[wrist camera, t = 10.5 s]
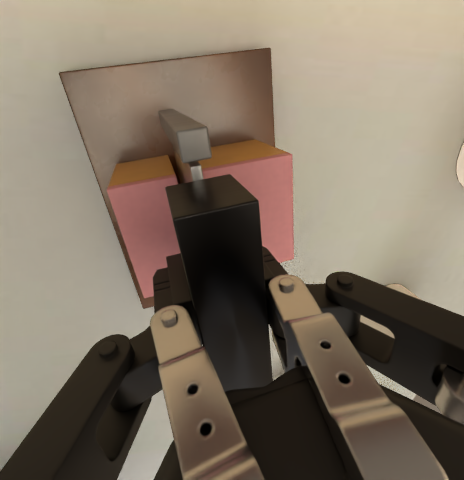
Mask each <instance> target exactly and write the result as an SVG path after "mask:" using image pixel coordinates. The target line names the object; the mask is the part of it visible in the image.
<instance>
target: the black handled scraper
mask: <svg viewBox="0 0 464 480" xmlns="http://www.w3.org/2000/svg"><path fill="white" fill-rule="evenodd" d="M173 150H174V155H175V159H176V164H177V169H178V173H179V178H180V183H181V184H177V185H172V186H167V187H165V190H166V194H167V198H168V203H169V207H170V211H171V215H172V220H173V224H174V228H175V232H176V236H177V240H178V244H179V248H180V253H181V257H182V261H183V265H184V269H185V273H186V277H187V281H188V286H189V290H190V294H191V298H192V302H193V306H194V310H195V314H196V318H197V323H198V327H199V331H200V335H201V339H202V343H203V346H204V347H205V348H206V350H207V352H208V355H209V357H210V359H211V362H212V364H213V366H214V369H215V371H216V373H217V376H218V378H219V380H220V383H221V385H222V387H223V389H224V392H226V391H228V390H233V389H245V388H256V387H264V386H266V385H268V384H270V383H271V382H273V379H272V366H271V353H270V340H269V327H268V314H267V301H266V288H265V275H264V262H263V249H262V236H261V223H260V210H259V201H258V199H257V198H256V197H254V196H253V195H252V194H251V193H250V192H249V191H248V190H247V189H246V188H245V187H244V186H243V185H241V184H240V183H239V182H238V181H237V180H236V179H235V178H234V177H233V176H232V175H231V174H227V175H222V176H217V177H212V178H207V179H204V178H203V173H202V167H201V165H200V163H199V162H198V161H195V162H189V163H182V161H181V160H180V158H179V156H178V154H177V153H176V151H175V149H174V147H173Z"/></svg>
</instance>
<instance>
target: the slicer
mask: <svg viewBox="0 0 464 480" xmlns="http://www.w3.org/2000/svg"><path fill="white" fill-rule="evenodd" d="M59 75H60V78H61V81H62V84H63V86H64V89H65V92H66V95H67V97H68V100H69V103H70V106H71V109H72V111H73V114H74V117H75V120H76V123H77V125H78V128H79V131H80V134H81V137H82V139H83V142H84V145H85V148H86V150H87V153H88V156H89V159H90V162H91V164H92V167H93V170H94V173H95V176H96V178H97V181H98V184H99V187H100V190H101V192H102V195H103V198H104V201H105V204H106V206H107V209H108V212H109V215H110V217H111V220H112V223H113V226H114V229H115V231H116V234H117V237H118V240H119V243H120V245H121V248H122V251H123V254H124V257H125V259H126V262H127V265H128V268H129V270H130V273H131V276H132V279H133V282H134V284H135V287H136V290H137V293H138V296H139V298H140V301H141V304H142V307H143V309H145V308H149V307H152V306H154V296H152V297H148V298H144V297H143V294H142V291H141V288H140V285H139V282H138V279H137V277H136V274H135V271H134V268H133V265H132V262H131V259H130V256H129V254H128V251H127V248H126V245H125V242H124V239H123V236H122V233H121V231H120V228H119V225H118V222H117V219H116V216H115V213H114V211H113V208H112V205H111V202H110V199H109V196H108V193H107V188H108V185H109V182H110V180H111V177H112V174H113V172H114V169H115V166H116V164H119V163H125V162H130V161H136V160H142V159H147V158H153V157H159V156H164V155H168V157H169V159H170V162H171V164H172V167H173V169H174V172H175V174H176V177H177V181H178V184H181V183H180V178H179V173H178V169H177V164H176V159H175V155H174V150H173V147H174V149H175V151H176V153H177V154H178V156H179V158H180V160H181V161H182V163H189V162H195V161H200V160H206V159H210V158H212V153H211V147H215V146H221V145H226V144H232V143H238V142H243V141H249V140H254V139H256V140H258V141H261V142H263V143H266V144H268V145H270V146H273V147H275V138H274V115H273V92H272V69H271V49H270V48H263V49H255V50H246V51H237V52H229V53H220V54H212V55H203V56H195V57H186V58H177V59H169V60H160V61H152V62H143V63H134V64H126V65H117V66H109V67H100V68H91V69H83V70H74V71H66V72H60V73H59Z"/></svg>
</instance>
